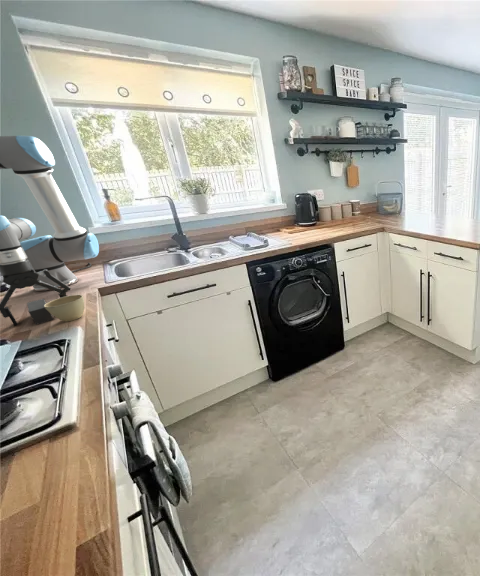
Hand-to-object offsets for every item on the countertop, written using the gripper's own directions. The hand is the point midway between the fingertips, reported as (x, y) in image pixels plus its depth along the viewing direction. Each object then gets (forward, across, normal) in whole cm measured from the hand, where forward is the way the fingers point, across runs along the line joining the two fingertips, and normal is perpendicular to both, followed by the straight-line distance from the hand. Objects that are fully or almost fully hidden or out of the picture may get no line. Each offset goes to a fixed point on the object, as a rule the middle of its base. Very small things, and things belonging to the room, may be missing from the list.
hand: (42, 316), depth 114 cm
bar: (0, 0, 0) cm, 0 cm away
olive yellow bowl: (0, +7, -12) cm, 14 cm away
